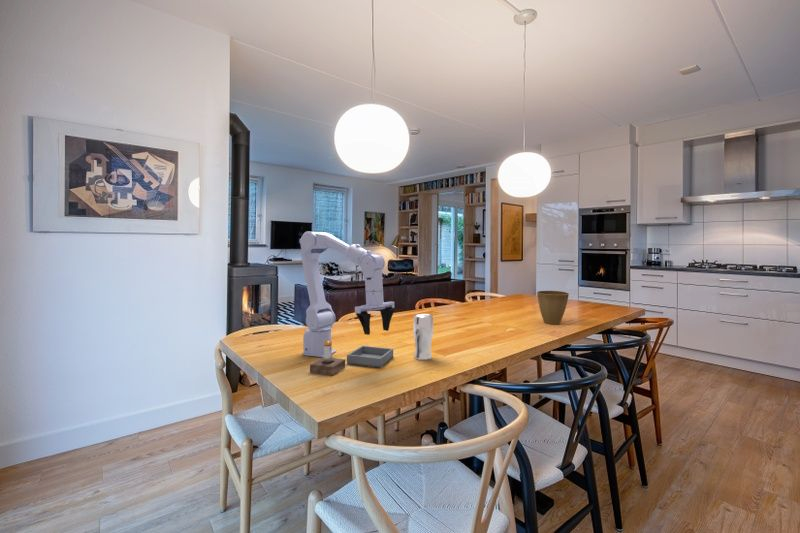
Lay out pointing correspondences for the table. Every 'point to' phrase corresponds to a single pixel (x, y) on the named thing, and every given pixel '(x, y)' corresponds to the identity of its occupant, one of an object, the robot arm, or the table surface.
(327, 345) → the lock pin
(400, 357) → the table surface
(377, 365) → the tray
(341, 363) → the block
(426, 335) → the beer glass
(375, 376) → the table surface
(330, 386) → the table surface
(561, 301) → the plant pot
